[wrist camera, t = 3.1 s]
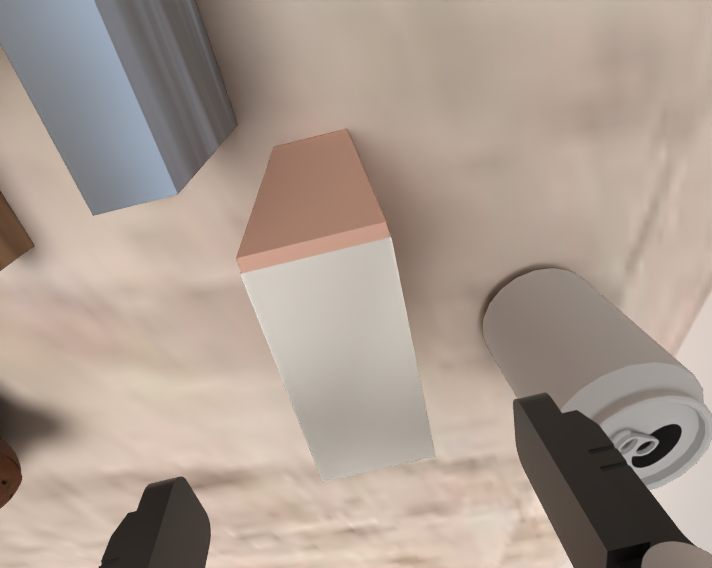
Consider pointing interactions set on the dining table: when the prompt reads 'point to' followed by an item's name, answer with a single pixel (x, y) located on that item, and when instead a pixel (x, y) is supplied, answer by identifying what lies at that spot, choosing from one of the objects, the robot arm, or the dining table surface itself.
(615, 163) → the dining table surface
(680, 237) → the dining table surface
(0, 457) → the decorative turtle
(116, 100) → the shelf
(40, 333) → the dining table surface
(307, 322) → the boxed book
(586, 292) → the can
